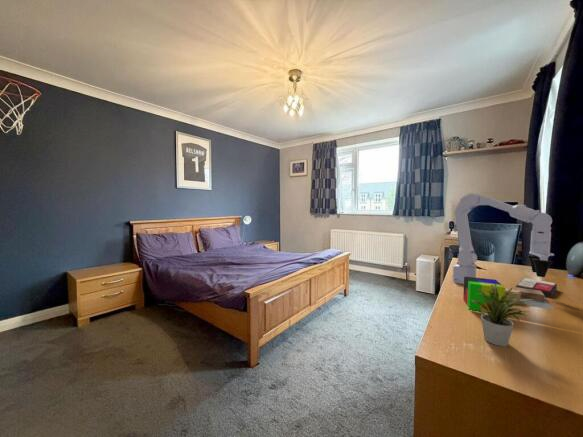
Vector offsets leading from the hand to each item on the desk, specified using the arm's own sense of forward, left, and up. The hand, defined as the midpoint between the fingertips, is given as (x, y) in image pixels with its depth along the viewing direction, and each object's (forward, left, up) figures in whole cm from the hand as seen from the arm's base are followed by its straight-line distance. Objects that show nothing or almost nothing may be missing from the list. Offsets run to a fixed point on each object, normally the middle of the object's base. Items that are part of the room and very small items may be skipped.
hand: (538, 274), depth 101 cm
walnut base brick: (-3, -3, -9) cm, 10 cm away
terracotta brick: (-10, -12, -9) cm, 18 cm away
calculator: (+1, +10, -10) cm, 14 cm away
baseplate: (-8, -7, -10) cm, 15 cm away
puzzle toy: (-19, -26, -10) cm, 34 cm away
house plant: (-17, -54, -10) cm, 58 cm away
